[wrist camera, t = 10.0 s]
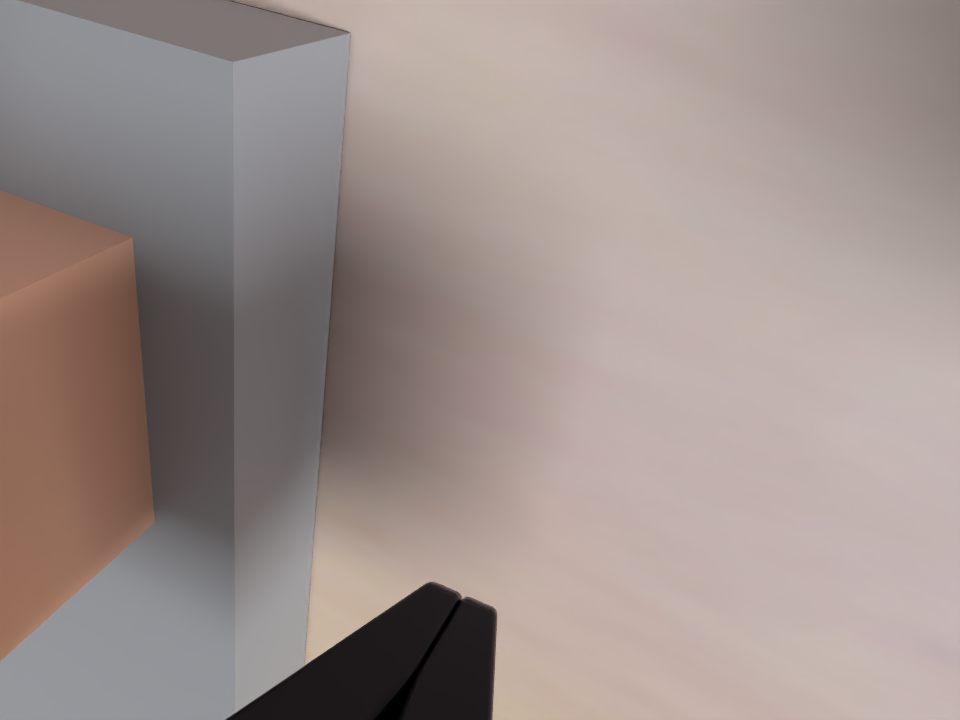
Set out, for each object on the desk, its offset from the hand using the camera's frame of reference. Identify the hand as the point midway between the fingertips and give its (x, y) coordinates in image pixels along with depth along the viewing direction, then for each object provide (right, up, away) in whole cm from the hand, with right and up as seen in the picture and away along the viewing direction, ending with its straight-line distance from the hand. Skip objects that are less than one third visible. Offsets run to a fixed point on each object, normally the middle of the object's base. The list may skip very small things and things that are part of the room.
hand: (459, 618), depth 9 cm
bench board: (-8, +2, +7) cm, 11 cm away
